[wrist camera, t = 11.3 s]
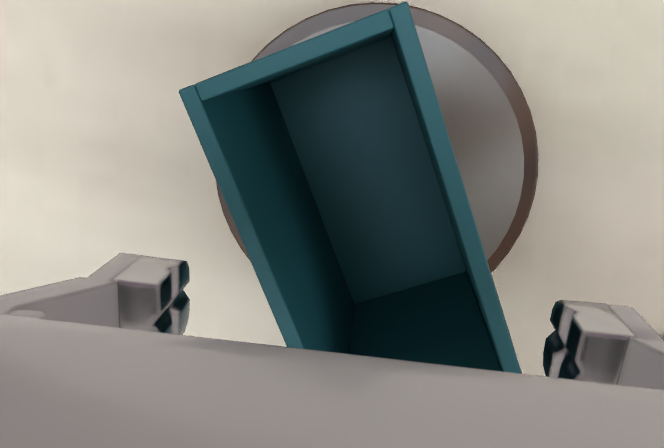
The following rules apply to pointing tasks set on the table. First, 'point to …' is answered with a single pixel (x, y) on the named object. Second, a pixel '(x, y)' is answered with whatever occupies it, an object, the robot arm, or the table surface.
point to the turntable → (460, 119)
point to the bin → (354, 198)
